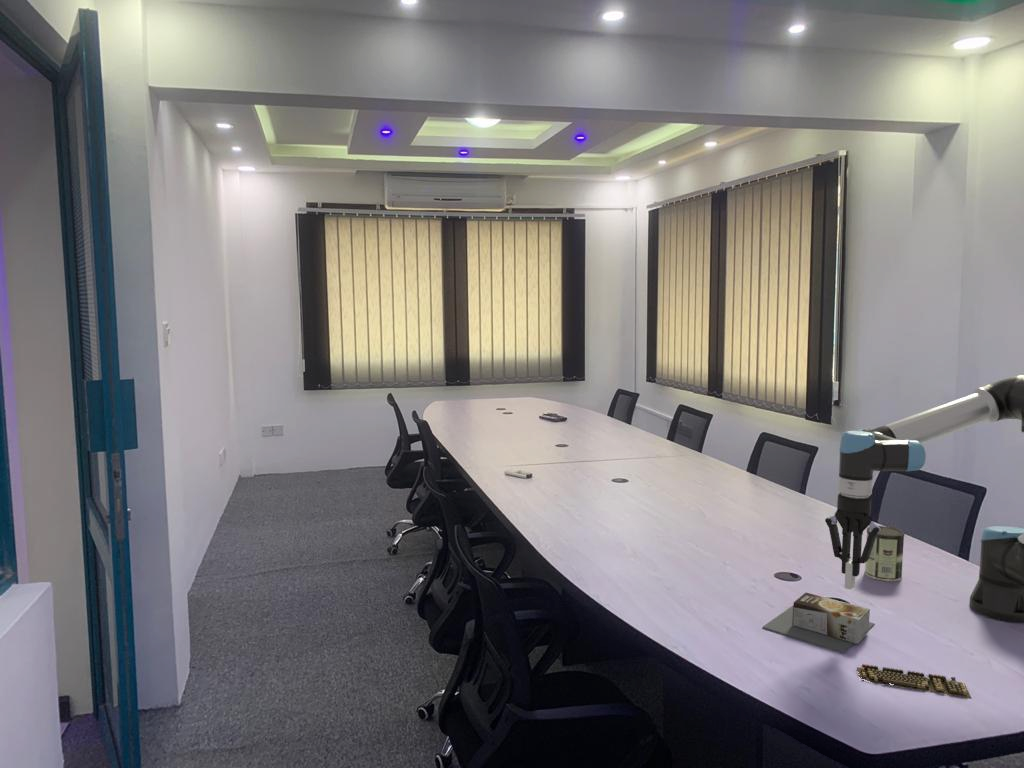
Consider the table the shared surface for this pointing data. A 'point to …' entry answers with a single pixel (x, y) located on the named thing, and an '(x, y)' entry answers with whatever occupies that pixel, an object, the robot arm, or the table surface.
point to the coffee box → (831, 617)
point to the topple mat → (807, 633)
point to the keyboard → (913, 680)
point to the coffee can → (886, 555)
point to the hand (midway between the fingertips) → (849, 587)
